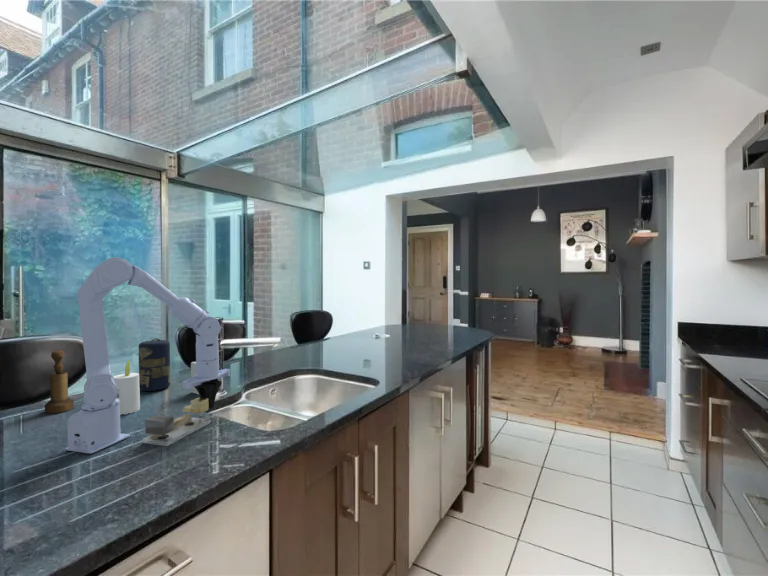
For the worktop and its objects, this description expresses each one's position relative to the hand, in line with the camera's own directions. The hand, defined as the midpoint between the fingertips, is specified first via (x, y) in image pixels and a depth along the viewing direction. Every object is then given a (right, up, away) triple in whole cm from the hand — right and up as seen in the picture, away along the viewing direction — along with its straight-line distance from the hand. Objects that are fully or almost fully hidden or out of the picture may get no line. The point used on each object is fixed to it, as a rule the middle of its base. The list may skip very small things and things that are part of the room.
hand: (208, 407), depth 102 cm
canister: (-33, -3, +29) cm, 43 cm away
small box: (-13, -3, +25) cm, 29 cm away
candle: (-27, -3, +6) cm, 28 cm away
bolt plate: (-3, -3, -10) cm, 10 cm away
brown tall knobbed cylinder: (-49, -4, +8) cm, 49 cm away
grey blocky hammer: (-4, -2, -10) cm, 10 cm away
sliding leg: (-2, -2, -3) cm, 4 cm away
